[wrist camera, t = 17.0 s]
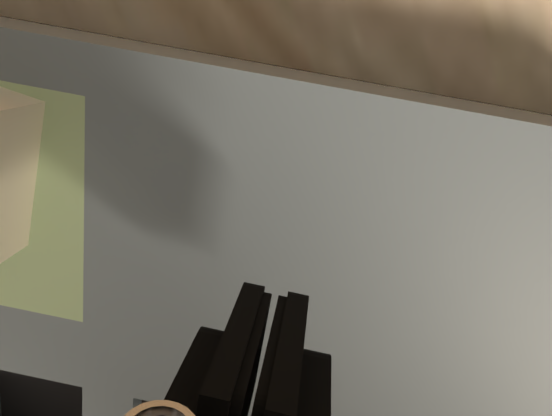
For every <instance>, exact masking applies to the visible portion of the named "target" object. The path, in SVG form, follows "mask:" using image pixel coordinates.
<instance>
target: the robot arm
mask: <svg viewBox="0 0 552 416" xmlns="http://www.w3.org/2000/svg"><path fill="white" fill-rule="evenodd" d="M264 291H265V286H261V285H256V284H252V283H247V282H244V283H243V285H242V288H241V290H240V293H239V295H238V298H237V300H236V303H235V305H234V308H233V310H232V313H231V315H230V318H229V320H228V323H227V325H226V328H225V330H224V331H222V330H217V329H212V328H208V327H203V326H201V327H200V329H199V330H198V332H197V334H196V336H195V338H194V340H193V342H192V344H191V346H190V348H189V350H188V352H187V354H186V356H185V358H184V360H183V362H182V364H181V366H180V368H179V370H178V372H177V374H176V376H175V378H174V380H173V382H172V384H171V386H170V388H169V390H168V392H167V394H166V396H165V398H164V400H153V401H149V402H145V403H142V404H140V405H138V406H136V407H134V408H132V409H131V410H130V411H129V412H127V413H126V414H125V415H124V416H248V413H249V408H250V404H251V400H252V396H253V392H254V387H255V382H256V377H257V372H258V367H259V361H260V356H261V351H262V345H263V340H264V335H265V329H266V324H267V319H268V313H269V308H270V303H271V297H272V294H271V293H266V292H264ZM308 303H309V296H308V295H303V294H299V293H294V292H289V291H288V295H287V297H285V296H281V295H279V296H278V300H277V305H276V309H275V313H274V317H273V322H272V326H271V330H270V335H269V339H268V343H267V347H266V352H265V356H264V360H263V365H262V369H261V373H260V377H259V382H258V386H257V390H256V395H255V399H254V404H253V408H252V413H251V416H331V354H326V353H322V352H317V351H312V350H308V349H304V341H305V332H306V322H307V312H308Z"/></svg>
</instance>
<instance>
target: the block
mask: <svg viewBox="0 0 552 416" xmlns="http://www.w3.org/2000/svg"><path fill="white" fill-rule="evenodd" d="M44 110H45V101H42V100H39V99H36V98H33V97H30V96H27V95H24V94H21V93H18V92H15V91H12V90H9V89H6V88H4V87H1V86H0V264H1V263H2V262H4V261H5V260H7V259H8V258H10V257H11V256H13V255H14V254H16V253H17V252H19V251H20V250H22V249H23V248H25V247H26V246H28V242H29V233H30V225H31V217H32V209H33V201H34V192H35V184H36V176H37V168H38V160H39V151H40V143H41V135H42V127H43V119H44Z"/></svg>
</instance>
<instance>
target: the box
mask: <svg viewBox="0 0 552 416" xmlns="http://www.w3.org/2000/svg"><path fill="white" fill-rule="evenodd" d="M0 86H1V87H4V88H6V89H9V90H12V91H15V92H18V93H21V94H24V95H27V96H30V97H33V98H36V99H39V100H42V101H45V110H44V119H43V127H42V135H41V143H40V151H39V160H38V168H37V176H36V184H35V192H34V201H33V209H32V217H31V225H30V233H29V242H28V246H26V247H25V248H23V249H22V250H20V251H19V252H17V253H16V254H14V255H13V256H11V257H10V258H8V259H7V260H5V261H4V262H2V263H1V264H0V416H124V415H125V414H126V413H127V412H129V411H130V410H131V409H132V408H134V407H136V406H138V405H140V404H142V403H145V402H149V401H153V400H164V398H165V396H166V394H167V392H168V390H169V388H170V386H171V384H172V382H173V380H174V378H175V376H176V374H177V372H178V370H179V368H180V366H181V364H182V362H183V360H184V358H185V356H186V354H187V352H188V350H189V348H190V346H191V344H192V342H193V340H194V338H195V336H196V334H197V332H198V330H199V329H200V327H201V326H203V327H208V328H212V329H217V330H222V331H224V330H225V328H226V325H227V323H228V320H229V318H230V315H231V313H232V310H233V308H234V305H235V303H236V300H237V298H238V295H239V293H240V290H241V288H242V285H243V283H244V282H247V283H252V284H256V285H261V286H265V291H264V292H266V293H271V294H272V297H271V303H270V308H269V313H268V319H267V324H266V329H265V335H264V340H263V345H262V351H261V356H260V361H259V367H258V372H257V377H256V382H255V387H254V392H253V396H252V400H251V404H250V408H249V413H248V416H251V413H252V408H253V404H254V399H255V395H256V390H257V386H258V382H259V377H260V373H261V369H262V365H263V360H264V356H265V352H266V347H267V343H268V339H269V335H270V330H271V326H272V322H273V317H274V313H275V309H276V305H277V300H278V296H279V295H281V296H285V297H287V295H288V291H289V292H294V293H299V294H303V295H308V296H309V303H308V312H307V322H306V332H305V341H304V349H308V350H312V351H317V352H322V353H326V354H331V416H552V115H548V114H542V113H536V112H531V111H525V110H520V109H514V108H509V107H503V106H497V105H492V104H486V103H481V102H475V101H470V100H464V99H458V98H453V97H447V96H442V95H436V94H431V93H425V92H419V91H414V90H408V89H403V88H397V87H392V86H386V85H380V84H375V83H369V82H364V81H358V80H353V79H347V78H341V77H336V76H330V75H325V74H319V73H313V72H308V71H302V70H297V69H291V68H286V67H280V66H274V65H269V64H263V63H258V62H252V61H247V60H241V59H235V58H230V57H224V56H219V55H213V54H208V53H202V52H196V51H191V50H185V49H180V48H174V47H169V46H163V45H157V44H152V43H146V42H141V41H135V40H130V39H124V38H118V37H113V36H107V35H102V34H96V33H90V32H85V31H79V30H74V29H68V28H63V27H57V26H51V25H46V24H40V23H35V22H29V21H24V20H18V19H12V18H7V17H1V16H0Z"/></svg>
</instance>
